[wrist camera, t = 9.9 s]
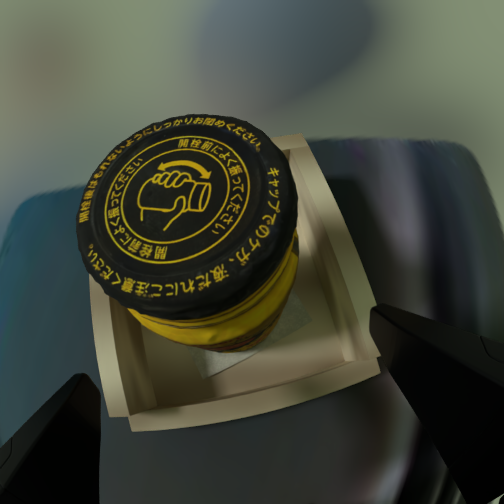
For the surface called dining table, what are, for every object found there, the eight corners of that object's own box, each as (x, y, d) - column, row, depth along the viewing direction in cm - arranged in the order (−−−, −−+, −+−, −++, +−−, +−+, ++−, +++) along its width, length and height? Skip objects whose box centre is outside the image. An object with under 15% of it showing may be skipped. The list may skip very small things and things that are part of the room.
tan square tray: (361, 372, 16) (396, 373, 11) (150, 422, 14) (115, 438, 10) (293, 178, 21) (301, 133, 17) (121, 221, 20) (92, 185, 15)
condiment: (203, 379, 15) (84, 408, 4) (149, 260, 18) (41, 134, 7) (312, 321, 16) (415, 231, 5) (245, 212, 19) (231, 48, 8)
